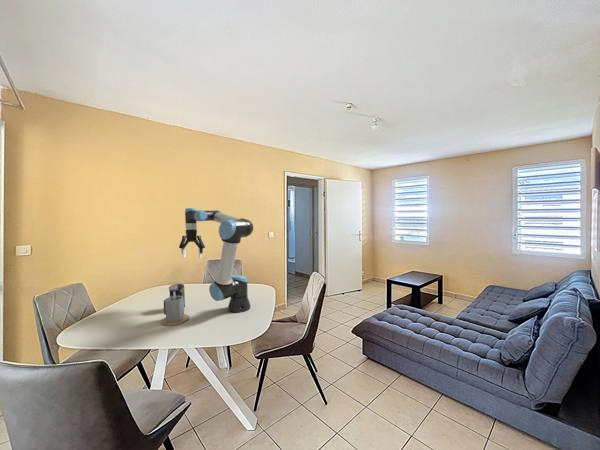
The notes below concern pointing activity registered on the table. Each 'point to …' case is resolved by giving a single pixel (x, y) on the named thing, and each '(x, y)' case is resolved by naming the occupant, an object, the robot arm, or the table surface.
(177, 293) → the canister
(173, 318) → the press carafe
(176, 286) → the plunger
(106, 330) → the table surface
